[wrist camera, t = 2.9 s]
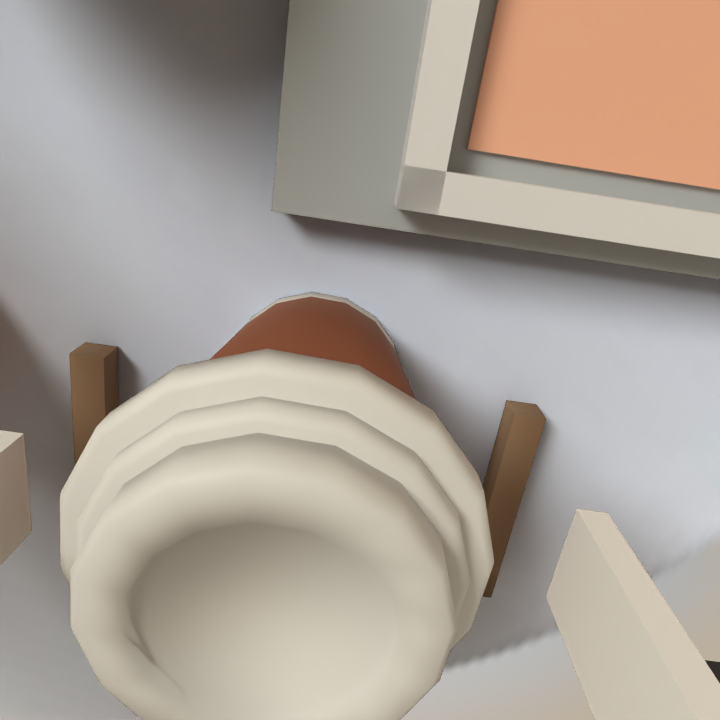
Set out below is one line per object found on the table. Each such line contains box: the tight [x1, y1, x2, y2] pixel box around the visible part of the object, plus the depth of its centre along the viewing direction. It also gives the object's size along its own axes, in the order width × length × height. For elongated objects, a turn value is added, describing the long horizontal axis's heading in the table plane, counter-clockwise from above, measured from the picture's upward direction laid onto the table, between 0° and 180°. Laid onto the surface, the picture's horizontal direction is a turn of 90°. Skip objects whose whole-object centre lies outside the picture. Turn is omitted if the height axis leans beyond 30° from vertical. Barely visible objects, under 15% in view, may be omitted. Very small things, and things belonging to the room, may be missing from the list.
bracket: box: [69, 342, 546, 597], centre depth 22 cm, size 17×9×1 cm, turn 82°
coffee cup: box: [60, 292, 494, 720], centre depth 15 cm, size 9×9×12 cm
